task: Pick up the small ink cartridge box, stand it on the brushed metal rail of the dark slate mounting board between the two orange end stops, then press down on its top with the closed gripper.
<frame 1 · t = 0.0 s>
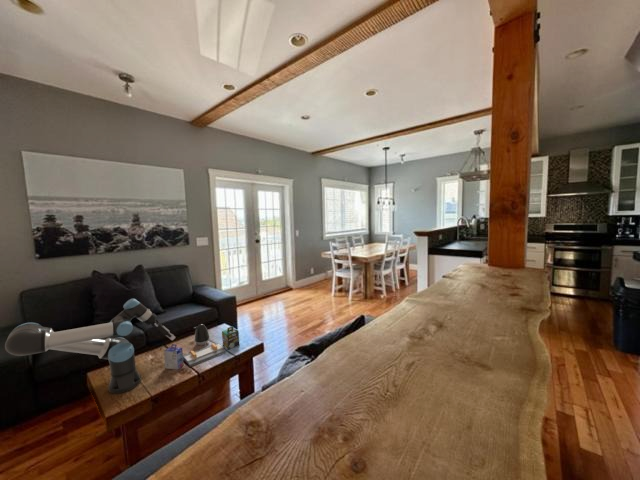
hand: (171, 335, 183), 15 cm above the table, tool tilted 35°, fingers open, 13 cm apart
rail board: (204, 355, 185), on the table
ink cartridge box: (174, 367, 172), on the table
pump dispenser: (202, 343, 202), on the table
chalk box: (231, 345, 198), on the table
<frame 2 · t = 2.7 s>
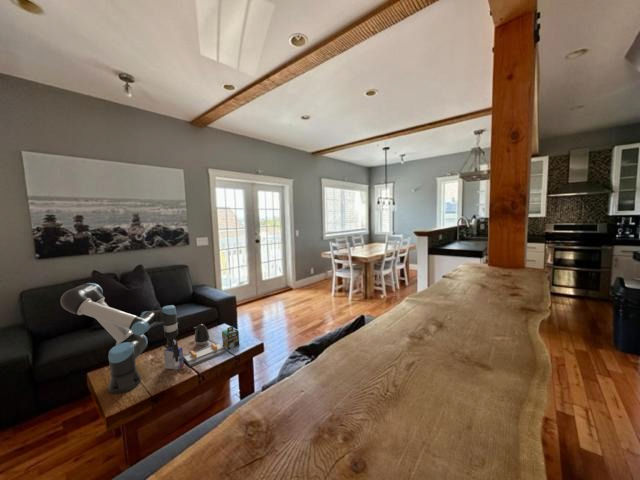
hand: (174, 362, 172), 3 cm above the table, tool pointing down, fingers closed on ink cartridge box, 11 cm apart
ink cartridge box: (174, 367, 172), on the table, touching gripper
everything else where it was.
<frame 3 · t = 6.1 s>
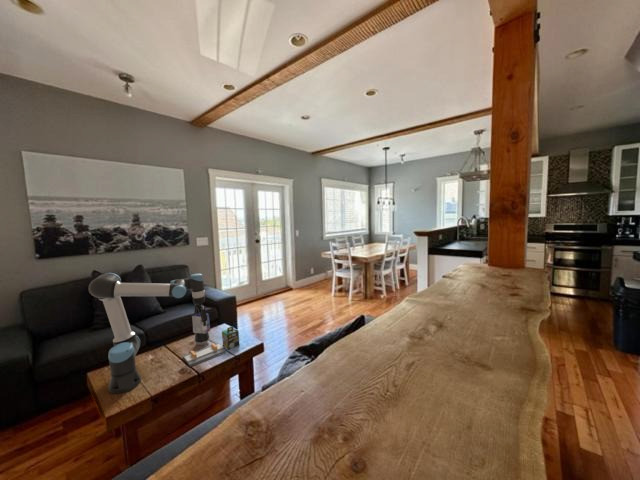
hand: (201, 327, 182), 20 cm above the table, tool pointing down, fingers closed on ink cartridge box, 11 cm apart
ink cartridge box: (202, 331, 183), point 17 cm above the table, touching gripper
everything else where it was.
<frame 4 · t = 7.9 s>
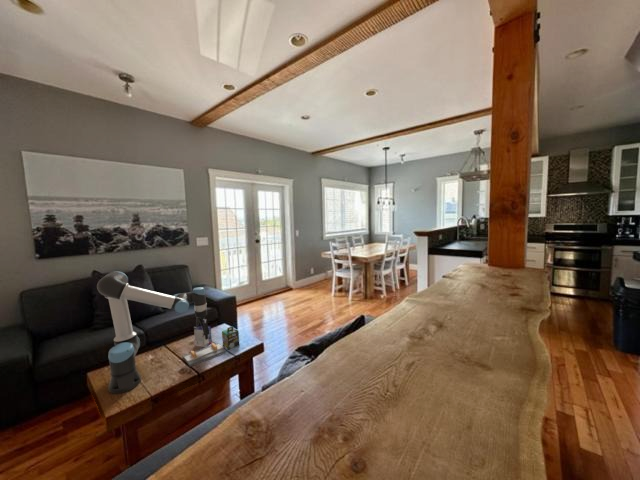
hand: (203, 340, 184), 11 cm above the table, tool pointing down, fingers closed on ink cartridge box, 11 cm apart
ink cartridge box: (203, 344, 184), point 7 cm above the table, touching gripper
everything else where it was.
when the fingers open (6 cm above the table, at t = 9.3 s): ink cartridge box drops 1 cm, resting on rail board.
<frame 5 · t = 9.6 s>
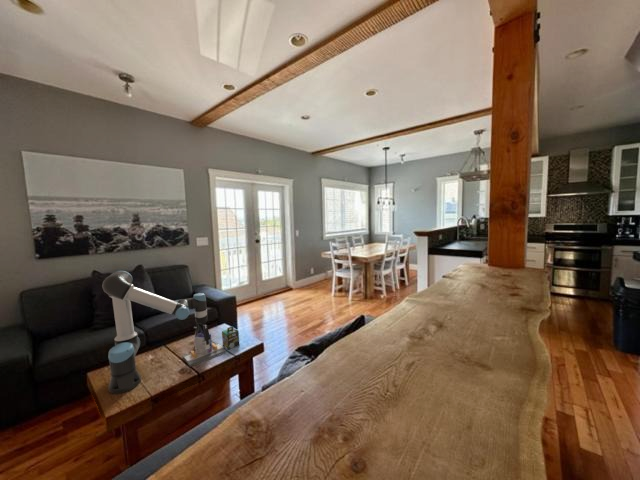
hand: (203, 345, 184), 7 cm above the table, tool pointing down, fingers open, 13 cm apart
ink cartridge box: (204, 352, 185), point 2 cm above the table, touching rail board
everything else where it was.
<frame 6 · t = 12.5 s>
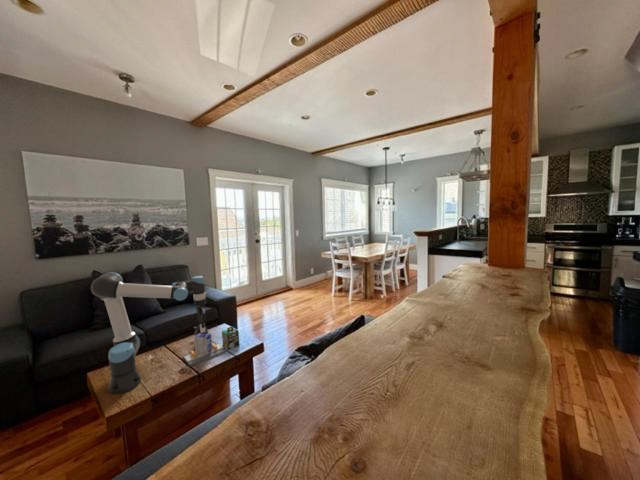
hand: (202, 331, 183), 17 cm above the table, tool pointing down, fingers closed
ink cartridge box: (204, 352, 185), point 2 cm above the table, touching gripper, rail board
everything else where it was.
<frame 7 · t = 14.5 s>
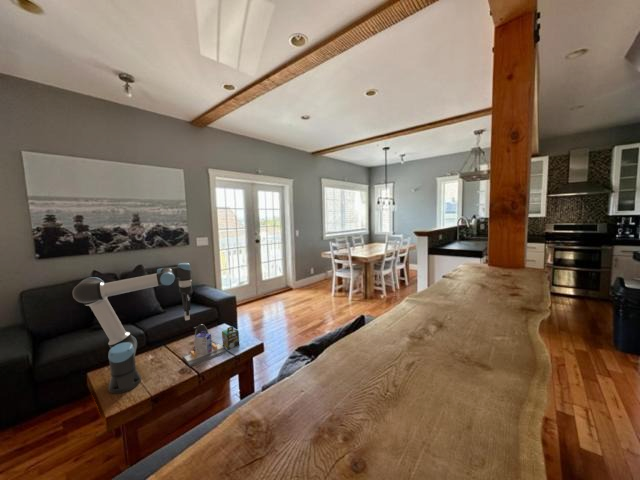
hand: (187, 319, 181), 26 cm above the table, tool pointing down, fingers closed
ink cartridge box: (204, 352, 185), point 2 cm above the table, touching rail board
everything else where it was.
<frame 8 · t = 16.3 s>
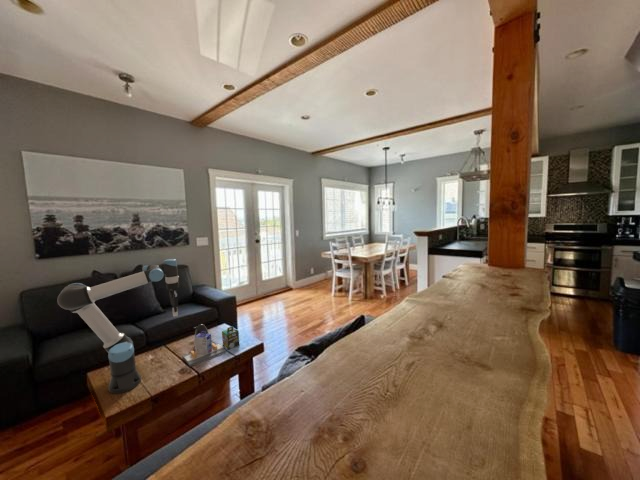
hand: (175, 315, 181), 29 cm above the table, tool pointing down, fingers closed
nothing on the table moved.
at the end: ink cartridge box 0.2 cm off-centre on the rail board, point 2.1 cm above the rail board's base; ink cartridge box tilted 0°; the gripper is holding nothing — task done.
